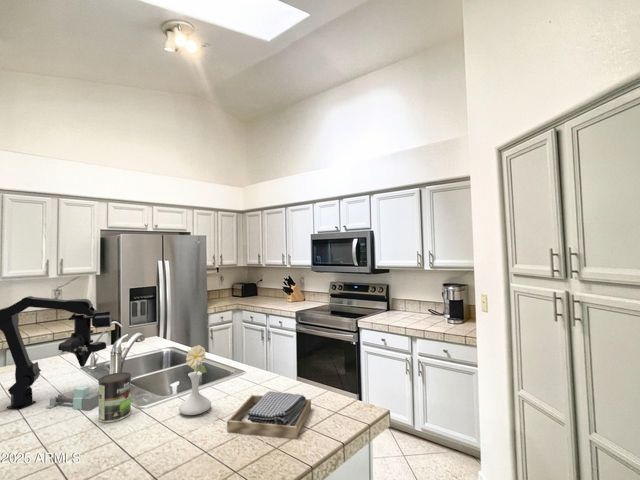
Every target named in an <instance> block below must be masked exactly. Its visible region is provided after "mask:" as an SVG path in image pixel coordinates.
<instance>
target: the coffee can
mask: <svg viewBox="0 0 640 480" xmlns="http://www.w3.org/2000/svg"><path fill="white" fill-rule="evenodd" d="M131 378H132V374H131V373H130V372H127V371H125V372H122V371H121V372H114V373H109V374H106V375H104V376H101V377H100V378H99V379H98V381H97V382H98V394H99V406H98V418H97V419H98V422H100V423H104V424H106V423H109V424H110V423H114V422H118V421H121V420H123V419H126V418H127V417H129V416H130V415H131V412H132V411H131V401H132V400H131V396H132V395H131V393H132V392H131V391H132V390H131V386H132V385H131V383H132V381H131Z"/></svg>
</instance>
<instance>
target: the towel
mask: <svg viewBox="0 0 640 480" xmlns="http://www.w3.org/2000/svg"><path fill="white" fill-rule="evenodd" d="M262 396H263V397H262V398H261V399H260V400H259V401H258V403H257V404H256V405H253V406H252V407H251V408H250V409H249V411H248V412H247V415H248V417H247V420H248V421H249V422H255V423H266V424H276V425H287V426H295V424H296V422H297V420H298V419H299V417H300V415H301V413H302V411H303V409H304V407H305V404H304V403H305V401H306V399H307V398H306V396H304V395H303V394H298V393H297V394H296V393H295V394H294V393H290V392H279V391H270V390H269V391H268V392H266V393H264V394H263V395H262Z"/></svg>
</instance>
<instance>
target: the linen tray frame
mask: <svg viewBox="0 0 640 480" xmlns="http://www.w3.org/2000/svg"><path fill="white" fill-rule="evenodd" d="M263 396H264V395H258V394H257V395H256V394H251V395H250V396H249V398H248V399H247V400H246V401H245V402H243V404H242V405H241V406H240V407H239V408H238V409H237V410H236V411H235V412H234V414H232V416H230V418H228V420H227V421H226V427H227V428H226V430H227V431H226V432H227V433H233V434H245V435H254V436H264V437H272V438H281V439H282V438H284V439H295V440H297V438H298V437H299V435H300V433H301V430H302V429H303V426H304V425H305V422H306V420H307V418H308V416H309V415H310V412H311V411H312V410H311V409H312V399H310V398H306V401H305V403H304V404H305V407H304V409H303V411H302V413H301V415H300V417H299V419H298V420H297V422H296V424H295V426H287V425H276V424H266V423H255V422H252V421H242V420H241V419H242V418H243V417H244V416H245V415H246V414H248V411H249V410H250V409H251V408H252V407H253V406H255V405H256V404H257V403H258V401H259V400H260V399H261V398H262V397H263Z"/></svg>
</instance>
